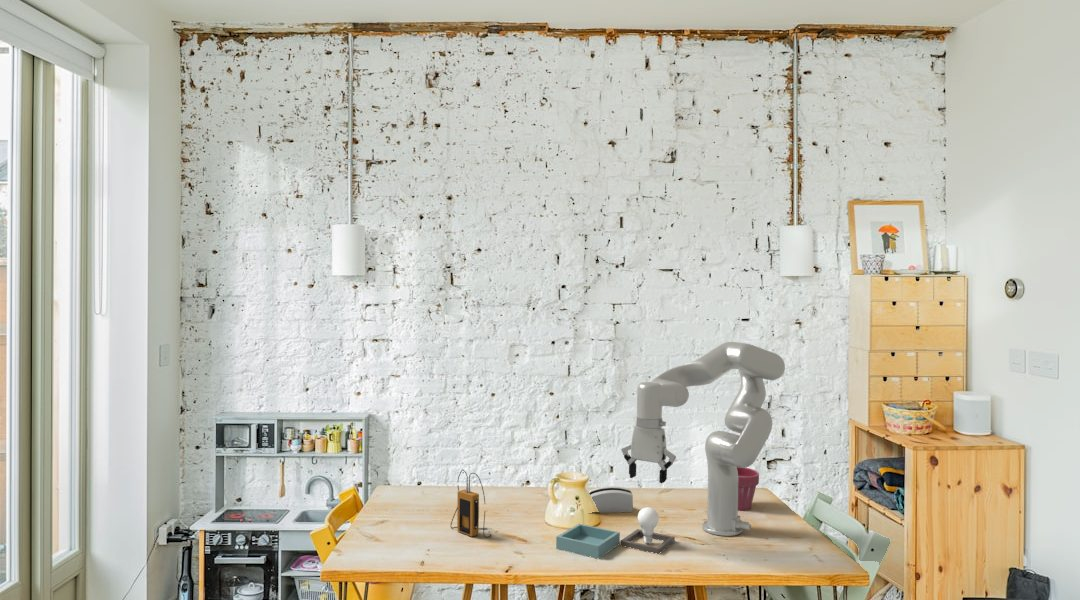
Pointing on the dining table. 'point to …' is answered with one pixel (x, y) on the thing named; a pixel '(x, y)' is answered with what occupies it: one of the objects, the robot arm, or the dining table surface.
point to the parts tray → (588, 540)
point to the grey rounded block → (612, 499)
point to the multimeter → (468, 511)
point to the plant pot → (746, 487)
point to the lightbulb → (648, 523)
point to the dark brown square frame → (627, 542)
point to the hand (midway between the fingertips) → (647, 479)
